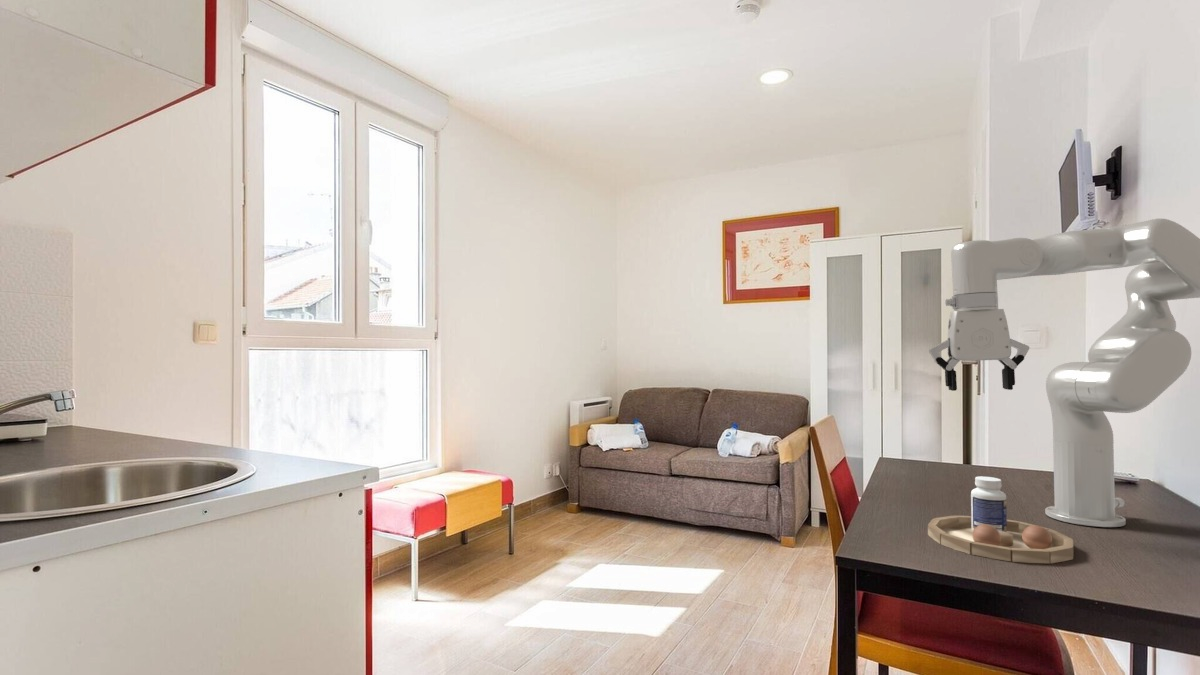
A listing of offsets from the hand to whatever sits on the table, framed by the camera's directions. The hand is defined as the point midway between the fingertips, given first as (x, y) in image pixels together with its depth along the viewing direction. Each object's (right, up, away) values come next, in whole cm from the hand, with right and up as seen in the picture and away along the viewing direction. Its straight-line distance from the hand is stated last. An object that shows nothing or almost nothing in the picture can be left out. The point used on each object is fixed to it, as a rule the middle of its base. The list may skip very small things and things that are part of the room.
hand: (979, 389), depth 119 cm
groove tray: (-7, -26, -16) cm, 31 cm away
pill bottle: (-5, -25, -11) cm, 28 cm away
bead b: (-3, -25, -20) cm, 32 cm away
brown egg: (-11, -25, -20) cm, 34 cm away
